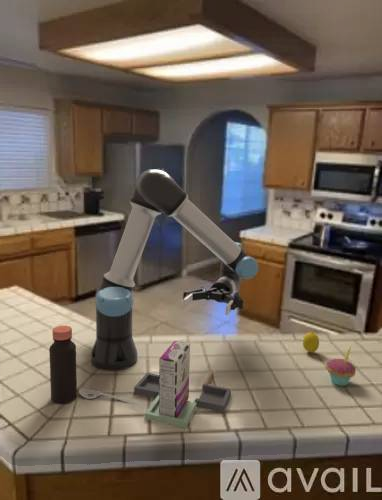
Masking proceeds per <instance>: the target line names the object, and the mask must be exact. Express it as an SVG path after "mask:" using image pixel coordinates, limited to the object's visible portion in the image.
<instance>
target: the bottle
mask: <svg viewBox="0 0 382 500" xmlns="http://www.w3.org/2000/svg"><path fill="white" fill-rule="evenodd" d="M72 337H73V329H72V327H71V326H69V325H58V326H55V327H54V328H52V340H53V343H52V344H50V346H49V350H48V351H49V377H50V399H51V401H52V402H53V403H55V404H58V405H59V404H61V405H62V404H63V405H65V404H69V403H71V402H73V401H74V400H76V398H77V396H78V386H77V385H78V383H77V345H76V344H75V342H73V341H72Z"/></svg>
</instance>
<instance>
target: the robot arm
mask: <svg viewBox="0 0 382 500" xmlns="http://www.w3.org/2000/svg"><path fill="white" fill-rule="evenodd" d="M129 203H130V205H131V212H130V214H129V216H128V220H127V222H126V225H125V228H124V231H123V234H122V236H121V239H120V242H119V244H118V247H117V250H116V253H115V256H114V259H113V262H112V264H111V267H110V270H109V271H108V272H106V273H104V274H103V277H102V279H101V282H100V284H99V285H98V287H97V288H96V291H95V295H94V296H95V300H94V303H95V328H96V329H95V331H96V332H95V333H96V334H95V335H96V336H95V342H94V344H93V348H92V350H91V355H90V363H91V364H92V365H93V366H94V367H95V368H97V369H100V370H105V371H119V370H124V369H128V368H129V367H132V366H133V365H136V363H137V361H138V349H137V347H136V343H135V341H134V337H133V307H134V299H133V292H134V289H135V286H136V283H135V281H134V277H135V275H136V271H137V269H138V266H139V263H140V261H141V258H142V254H143V252H144V250H145V246H146V244H147V242H148V238H149V236H150V233H151V231H152V227H153V226H154V222H155V219H156V217H157V216H159V215H161V214H162V213H163V214H164V215H165V216H166V217H168V218H169V217H170V218H171V217H172V218H173V219H175V220H176V222H177V223H179V224H180V225H181V226H182V227H184V228H185V229H186V230H187V231H188V233H190V234H191V235H192V236H193V237H194V238H196V239H197V240H198V241H199V242H200V243H201V244H203V245H204V246H205V247H206V248H207V249H208V250H209V251H211V253H212V254H214V256H215V257H217V258H218V259H219V260H220V272H219V273H220V274H219V278H218V280H216V281H215V282H214V283H212V285H211V286H210V288H208V289H207V288H206V289H204V286H201V287H198V288H194V289H190V290H186V291H183V294H182V299H183V306H182V307H183V308H184V309H185V308H187V307H188V306H189V305H190V304H192V303H193V301H199V300H206V301H209V300H212V301H215V302H217V303H224V304H227V305H226V306H225V315H226V316H228V315H229V314H230V313H231V312H232V311H235V310H236V309H237V308H238V309H240V310H242V309H244V300H243V298H242V297H241V296H240V295H239V293H240V292H237V291H238V290H239V289H240V287H241V284H242V279H244V280H250V279H253V278H254V277H255V276H256V275H257V273H258V271H259V264H258V262H257V261H256V259H254V257H252V256H251V255H249V254H248V253H247V252H245V251H244V250H243V245H242V243H241V242H238V241H237V242H236V241H234V240H233V239H232V238H231V237H229V235H227V234H226V233H225V232H224V231H223V230H222V229H221V228H220V227H219V226H218V225H216V224H215V222H213V220H211V219H210V218H209V217H208V216H207V215H205V213H204V212H203V211H201V210H200V209H199V208H198V207H197V206H196V204H194V203H193V202H191V200H190V199H189V196H188V193H187V192H186V191H184V190H183V188H182V187H181V186H180V185H179V184H178V183H177V182H176V181H175V179H174V178H173V177H172V176H171V175H170V174H169V173H167V172H166V171H163V170H160V169H155V168H154V169H153V168H152V169H147V170H144V171H142V172H141V173H140V174H139V175H138V176H137V178H136V180H135V182H134V189H133V193H132V194H131V197H130V200H129Z"/></svg>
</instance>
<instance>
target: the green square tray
mask: <svg viewBox="0 0 382 500" xmlns="http://www.w3.org/2000/svg"><path fill="white" fill-rule="evenodd" d="M195 399H196V398H194V399H193V401H188V400H187V401H186V403H185V405H184V407H183V408H182V410H181V412H180V414H179V415H178V417H177V418H175V417H170V416H166V415H161V414H159V394H158V396H157V397H156V398H154V400H153V401H152V403H150V406H149V407H148V408H147V410H146V411H145V412H144V419H145V420H149V421H154V422H158V423H163V424H166V425H171V426H175V427H179V428H184V429H186V428H187V427H188V424H189V422H190V421H191V419H192V417H193V415H194V413H195V411H196V409H197V408H198V407H197V402H195Z"/></svg>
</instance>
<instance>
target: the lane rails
mask: <svg viewBox="0 0 382 500" xmlns="http://www.w3.org/2000/svg"><path fill="white" fill-rule="evenodd" d="M214 373H215V370H212V369H211V370H209V372H208V373H207V376H206V377H205V380H204V381H203V383H202V385H201V387H202V388H201V390H202V391H203V385H204V384H209V385H210V382H211V381H212V379H213V377H214Z"/></svg>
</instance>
